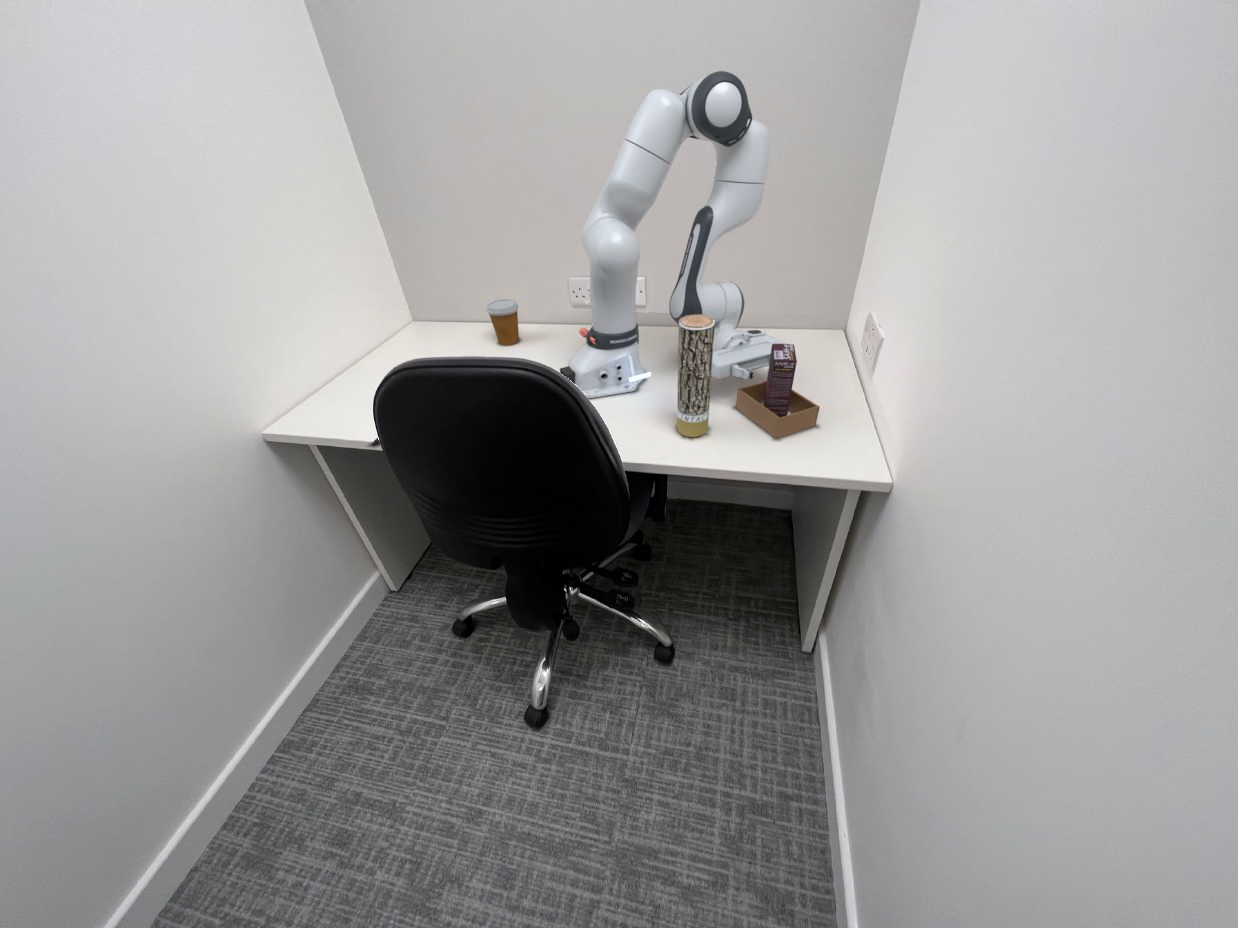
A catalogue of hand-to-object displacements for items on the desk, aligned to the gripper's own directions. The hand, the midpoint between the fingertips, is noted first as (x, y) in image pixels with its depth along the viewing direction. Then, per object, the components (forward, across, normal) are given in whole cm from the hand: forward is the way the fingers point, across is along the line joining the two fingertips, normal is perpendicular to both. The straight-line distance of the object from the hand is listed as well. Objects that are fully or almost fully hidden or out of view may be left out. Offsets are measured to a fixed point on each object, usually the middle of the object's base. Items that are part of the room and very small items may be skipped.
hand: (767, 371), depth 110 cm
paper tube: (0, -19, +10) cm, 21 cm away
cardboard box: (+4, 0, +10) cm, 10 cm away
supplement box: (+4, 0, +10) cm, 11 cm away
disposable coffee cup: (-72, -43, +10) cm, 84 cm away
